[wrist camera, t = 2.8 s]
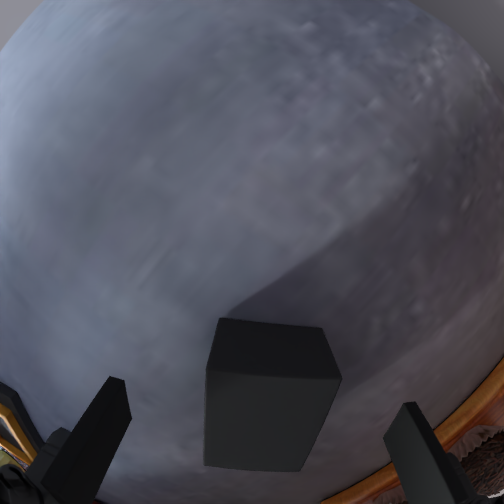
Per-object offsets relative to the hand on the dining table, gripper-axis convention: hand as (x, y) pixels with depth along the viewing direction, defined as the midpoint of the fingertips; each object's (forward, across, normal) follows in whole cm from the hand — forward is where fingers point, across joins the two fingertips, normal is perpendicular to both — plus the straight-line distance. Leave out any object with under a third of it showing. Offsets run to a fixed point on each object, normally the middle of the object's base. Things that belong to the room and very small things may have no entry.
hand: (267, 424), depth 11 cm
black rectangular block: (+3, 0, 0) cm, 3 cm away
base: (+3, -27, -17) cm, 32 cm away
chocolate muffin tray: (+4, +22, -10) cm, 25 cm away
